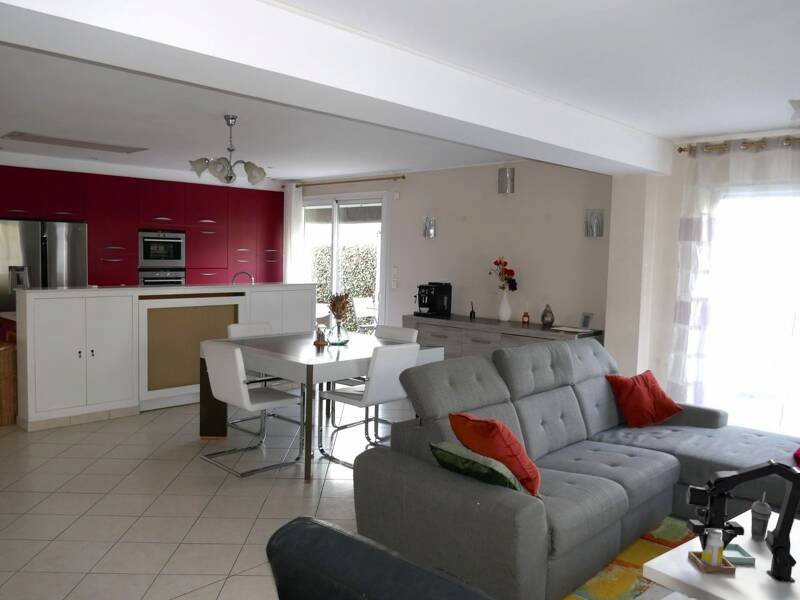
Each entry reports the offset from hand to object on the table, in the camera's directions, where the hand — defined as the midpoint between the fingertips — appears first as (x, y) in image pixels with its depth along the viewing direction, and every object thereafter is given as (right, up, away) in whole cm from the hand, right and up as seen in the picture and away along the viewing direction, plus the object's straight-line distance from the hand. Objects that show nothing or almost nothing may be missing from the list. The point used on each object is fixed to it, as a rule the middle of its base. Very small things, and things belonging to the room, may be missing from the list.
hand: (712, 549), depth 230 cm
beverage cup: (+31, -6, +26) cm, 41 cm away
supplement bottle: (0, -6, +1) cm, 6 cm away
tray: (+11, -6, +9) cm, 16 cm away
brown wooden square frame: (0, -6, +1) cm, 6 cm away
